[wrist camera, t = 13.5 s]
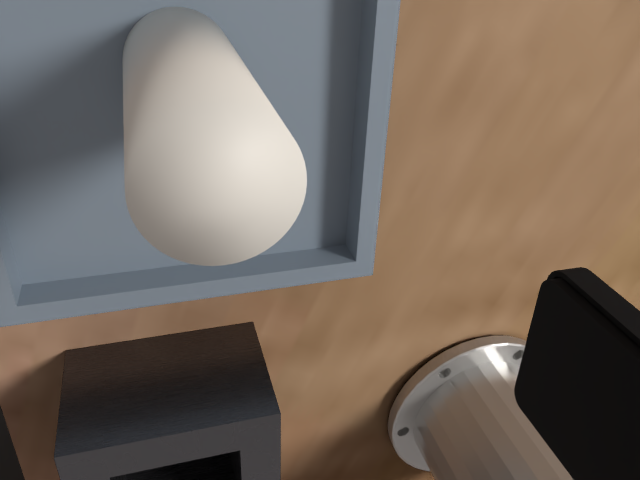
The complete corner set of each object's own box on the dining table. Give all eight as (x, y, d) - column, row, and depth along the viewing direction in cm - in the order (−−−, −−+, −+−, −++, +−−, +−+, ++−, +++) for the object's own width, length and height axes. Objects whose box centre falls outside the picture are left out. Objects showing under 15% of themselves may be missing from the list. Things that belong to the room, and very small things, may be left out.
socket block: (256, 440, 39) (280, 537, 33) (96, 473, 36) (92, 585, 30) (253, 321, 34) (280, 413, 28) (65, 350, 31) (53, 458, 25)
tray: (356, 250, 33) (372, 275, 31) (6, 294, 28) (-3, 327, 26) (398, -255, 22) (427, -268, 20) (-178, -318, 17) (-218, -345, 15)
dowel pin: (235, 113, 26) (305, 255, 16) (130, 119, 25) (137, 276, 15) (231, 5, 24) (309, 96, 14) (114, 7, 23) (110, 107, 13)
